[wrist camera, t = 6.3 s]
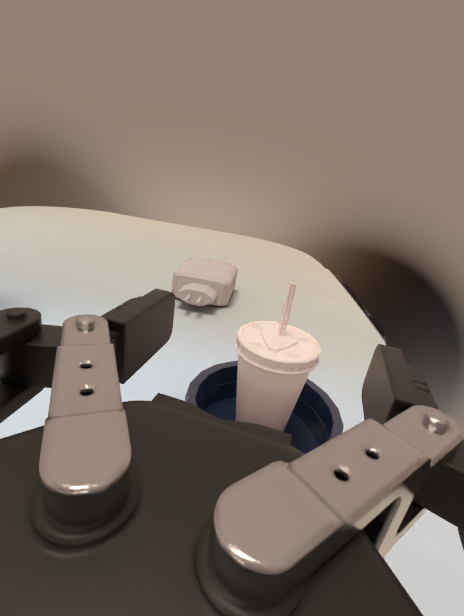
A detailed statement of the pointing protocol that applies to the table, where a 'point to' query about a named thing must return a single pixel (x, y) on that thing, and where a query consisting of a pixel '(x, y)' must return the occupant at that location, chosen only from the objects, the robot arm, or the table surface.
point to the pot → (304, 418)
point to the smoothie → (272, 368)
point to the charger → (204, 282)
